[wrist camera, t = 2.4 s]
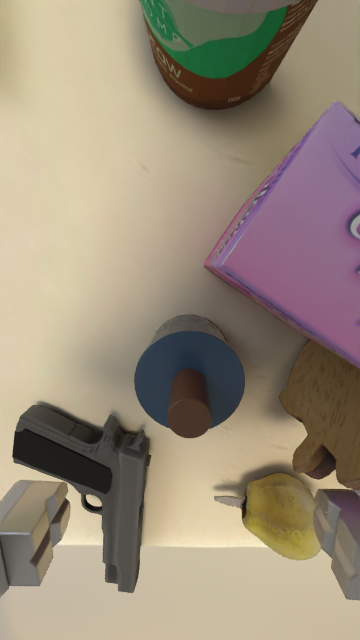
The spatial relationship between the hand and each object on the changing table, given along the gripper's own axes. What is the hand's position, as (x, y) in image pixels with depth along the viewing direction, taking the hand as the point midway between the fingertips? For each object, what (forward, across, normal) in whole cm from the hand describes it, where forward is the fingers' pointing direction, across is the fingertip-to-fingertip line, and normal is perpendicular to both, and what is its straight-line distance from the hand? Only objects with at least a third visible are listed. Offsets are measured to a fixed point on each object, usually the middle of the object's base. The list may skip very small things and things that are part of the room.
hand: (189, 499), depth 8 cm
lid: (+8, 0, 0) cm, 8 cm away
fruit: (+14, -8, +14) cm, 21 cm away
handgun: (+12, +16, +14) cm, 25 cm away
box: (+14, -7, -7) cm, 17 cm away
